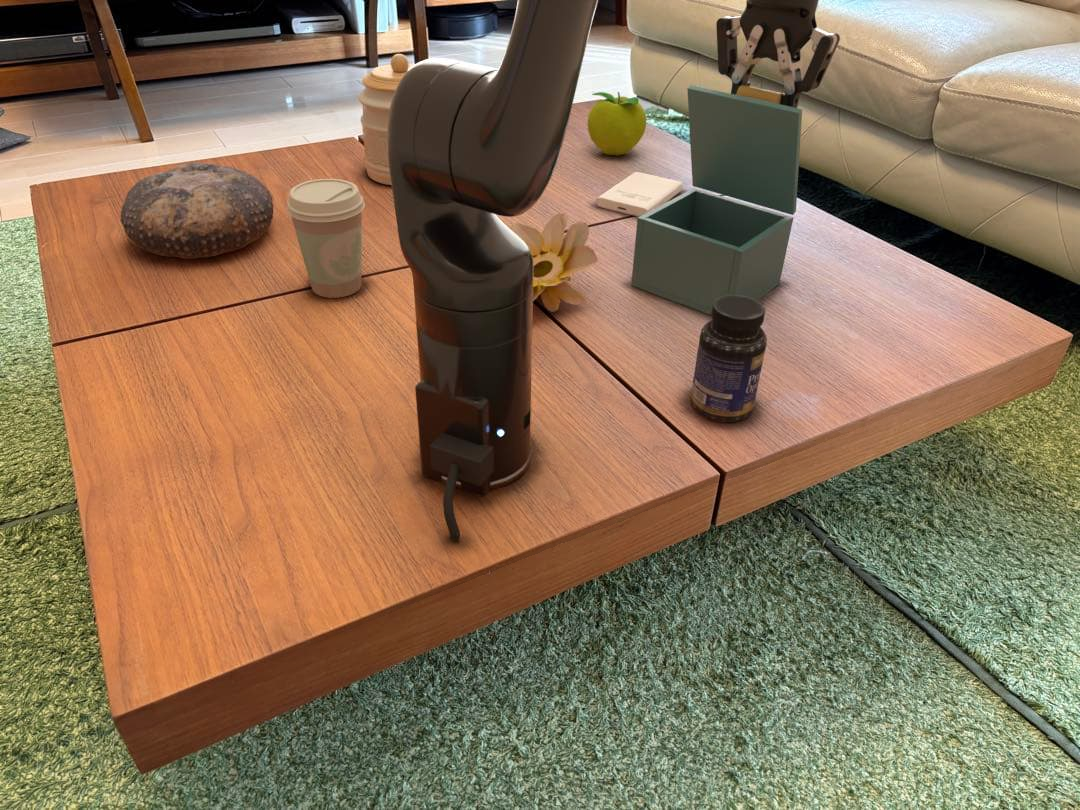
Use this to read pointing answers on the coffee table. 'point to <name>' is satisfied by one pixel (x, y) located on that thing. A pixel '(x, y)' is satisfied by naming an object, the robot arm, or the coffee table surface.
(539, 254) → the decorative flower
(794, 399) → the coffee table surface
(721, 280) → the chest
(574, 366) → the coffee table surface
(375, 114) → the jar
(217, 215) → the sea urchin shell
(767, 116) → the lid
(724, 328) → the pill bottle
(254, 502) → the coffee table surface
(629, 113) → the fruit
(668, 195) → the hard drive
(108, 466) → the coffee table surface
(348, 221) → the coffee cup
